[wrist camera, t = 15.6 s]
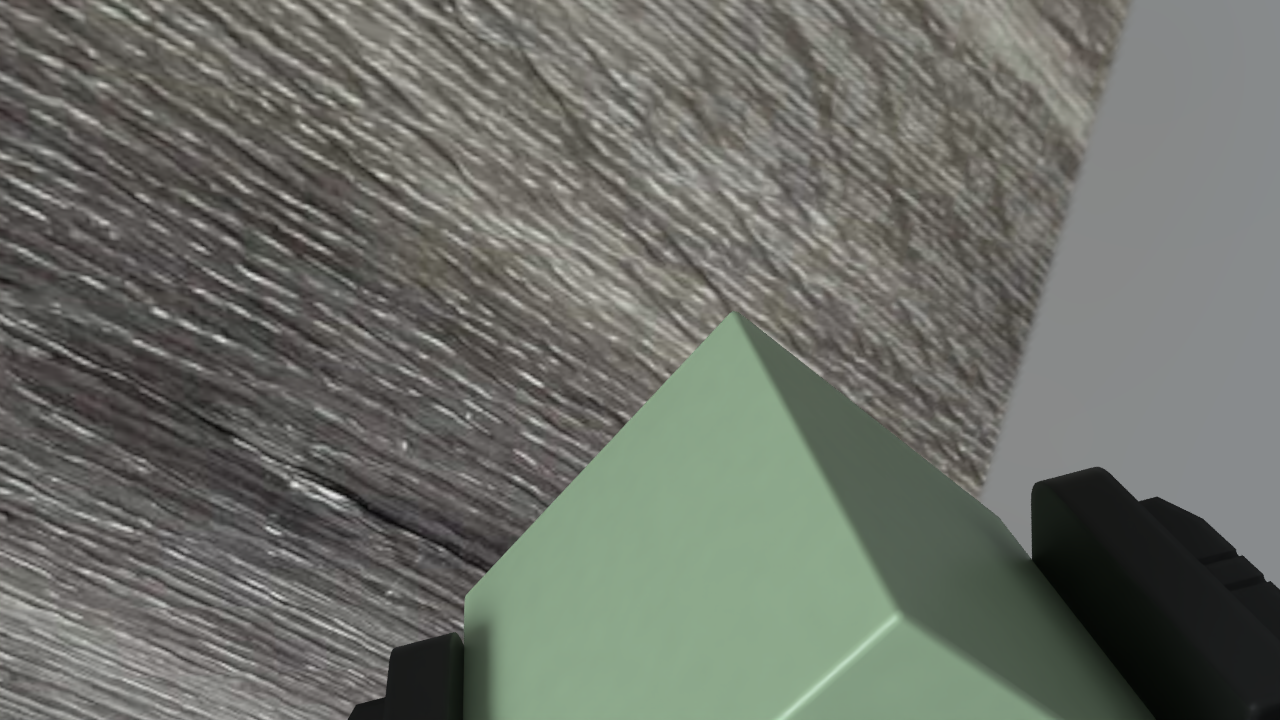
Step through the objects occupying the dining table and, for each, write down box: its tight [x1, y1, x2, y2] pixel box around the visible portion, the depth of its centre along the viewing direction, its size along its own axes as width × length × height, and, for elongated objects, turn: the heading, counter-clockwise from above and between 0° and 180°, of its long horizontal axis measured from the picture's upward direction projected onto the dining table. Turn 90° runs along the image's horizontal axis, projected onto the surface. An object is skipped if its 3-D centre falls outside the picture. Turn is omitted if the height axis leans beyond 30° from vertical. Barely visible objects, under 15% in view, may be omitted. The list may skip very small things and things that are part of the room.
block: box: [463, 311, 1156, 720], centre depth 10 cm, size 5×5×5 cm
